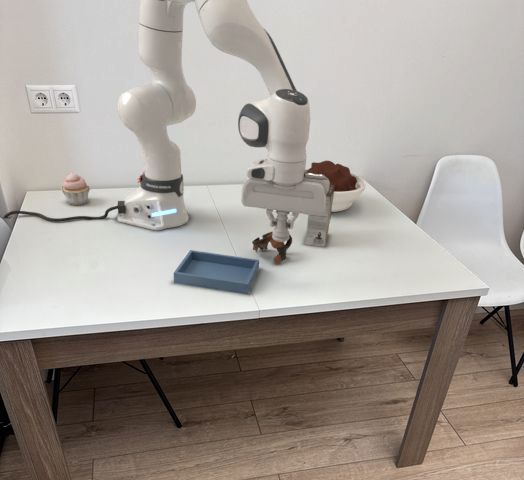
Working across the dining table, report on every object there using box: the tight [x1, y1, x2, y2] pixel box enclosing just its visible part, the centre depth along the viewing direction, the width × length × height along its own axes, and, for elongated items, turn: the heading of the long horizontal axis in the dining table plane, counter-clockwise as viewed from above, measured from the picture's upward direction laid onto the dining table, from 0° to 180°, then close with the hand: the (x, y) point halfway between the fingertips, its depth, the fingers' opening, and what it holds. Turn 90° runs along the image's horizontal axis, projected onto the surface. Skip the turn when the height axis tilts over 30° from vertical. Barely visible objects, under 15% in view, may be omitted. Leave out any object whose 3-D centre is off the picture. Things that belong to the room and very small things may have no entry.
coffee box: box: [304, 185, 335, 248], centre depth 147 cm, size 9×6×16 cm
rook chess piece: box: [272, 210, 291, 243], centre depth 120 cm, size 4×4×8 cm
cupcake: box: [60, 171, 91, 206], centre depth 162 cm, size 9×9×10 cm
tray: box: [173, 249, 260, 295], centre depth 129 cm, size 20×14×3 cm
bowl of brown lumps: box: [304, 160, 366, 213], centre depth 170 cm, size 25×25×15 cm
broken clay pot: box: [251, 231, 293, 265], centre depth 140 cm, size 12×10×8 cm
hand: (281, 227), depth 121 cm, fingers closed on rook chess piece, 3 cm apart
